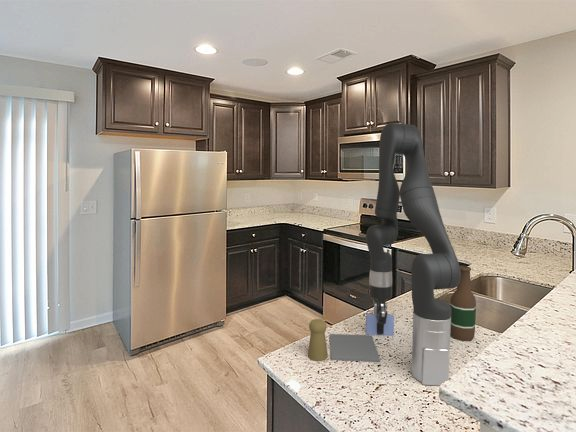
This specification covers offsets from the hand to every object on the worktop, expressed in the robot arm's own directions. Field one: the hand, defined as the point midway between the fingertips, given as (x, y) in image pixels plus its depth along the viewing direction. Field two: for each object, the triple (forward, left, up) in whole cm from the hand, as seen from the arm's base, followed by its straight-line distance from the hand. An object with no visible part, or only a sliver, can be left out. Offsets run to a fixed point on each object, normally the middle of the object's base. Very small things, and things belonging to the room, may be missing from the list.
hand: (379, 331), depth 117 cm
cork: (-17, +21, -1) cm, 27 cm away
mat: (-11, +10, -1) cm, 15 cm away
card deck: (0, 0, -1) cm, 1 cm away
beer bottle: (0, -27, -1) cm, 27 cm away
